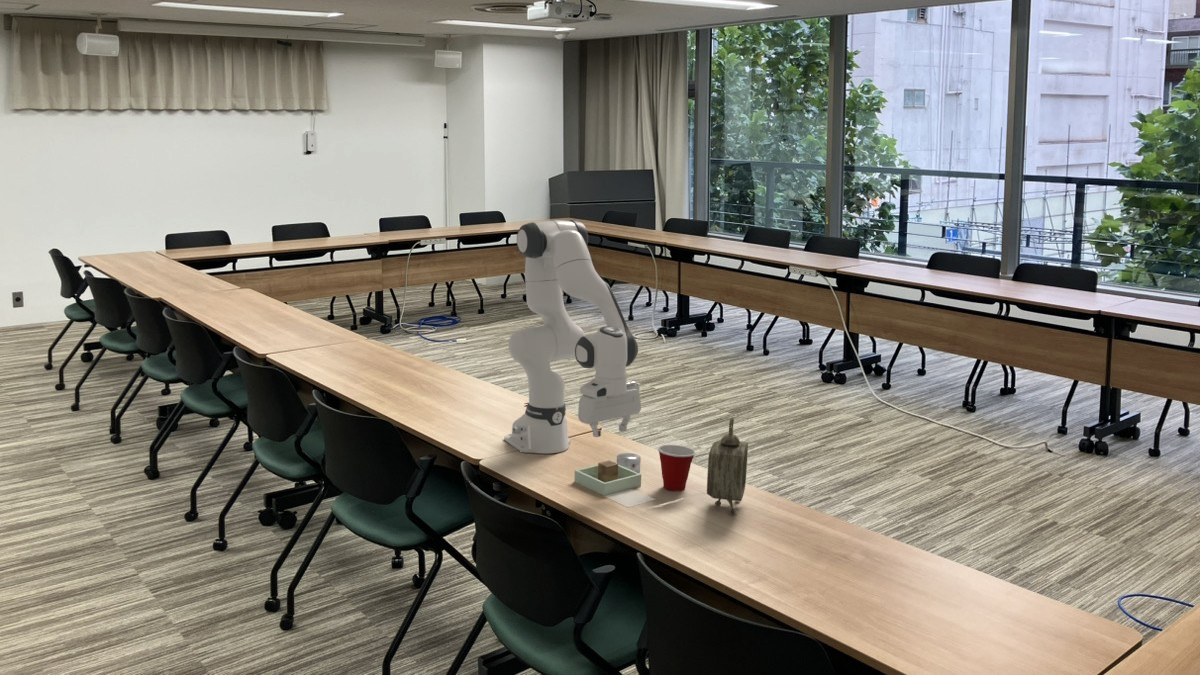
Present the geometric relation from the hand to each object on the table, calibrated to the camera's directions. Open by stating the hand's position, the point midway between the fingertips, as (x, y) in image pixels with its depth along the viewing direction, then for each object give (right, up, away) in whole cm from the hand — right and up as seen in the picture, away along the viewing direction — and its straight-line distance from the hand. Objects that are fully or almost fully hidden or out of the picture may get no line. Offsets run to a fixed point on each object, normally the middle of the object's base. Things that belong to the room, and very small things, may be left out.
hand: (609, 433), depth 287 cm
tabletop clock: (+31, -19, -10) cm, 38 cm away
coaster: (+5, -18, -7) cm, 20 cm away
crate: (-1, -15, +4) cm, 16 cm away
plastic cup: (+18, -16, +2) cm, 25 cm away
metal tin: (+6, -13, +15) cm, 20 cm away
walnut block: (-1, -15, +3) cm, 15 cm away
